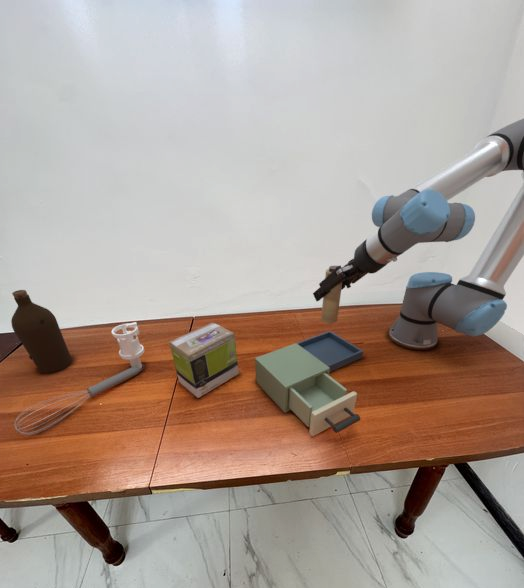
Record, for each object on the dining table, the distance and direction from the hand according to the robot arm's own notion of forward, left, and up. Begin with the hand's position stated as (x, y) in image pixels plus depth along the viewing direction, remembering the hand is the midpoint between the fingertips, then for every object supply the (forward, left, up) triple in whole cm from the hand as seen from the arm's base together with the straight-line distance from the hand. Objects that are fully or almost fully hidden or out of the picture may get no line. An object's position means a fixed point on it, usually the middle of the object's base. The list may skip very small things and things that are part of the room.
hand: (322, 295), depth 88 cm
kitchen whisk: (+68, -15, -20) cm, 73 cm away
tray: (0, +4, -20) cm, 20 cm away
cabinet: (+19, +11, -20) cm, 29 cm away
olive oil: (+76, -39, -20) cm, 88 cm away
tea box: (+37, -5, -20) cm, 42 cm away
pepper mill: (0, +4, -7) cm, 8 cm away
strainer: (+54, -23, -20) cm, 62 cm away
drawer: (+19, +24, -19) cm, 36 cm away
